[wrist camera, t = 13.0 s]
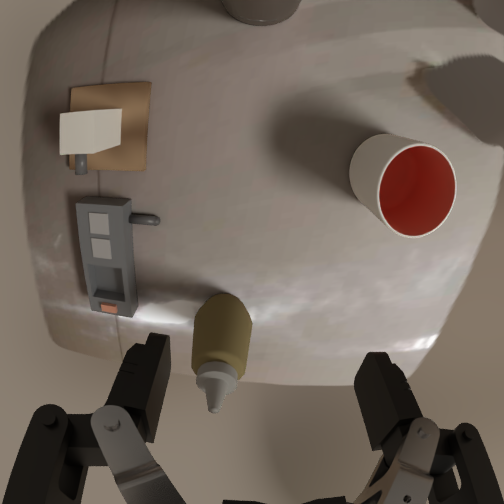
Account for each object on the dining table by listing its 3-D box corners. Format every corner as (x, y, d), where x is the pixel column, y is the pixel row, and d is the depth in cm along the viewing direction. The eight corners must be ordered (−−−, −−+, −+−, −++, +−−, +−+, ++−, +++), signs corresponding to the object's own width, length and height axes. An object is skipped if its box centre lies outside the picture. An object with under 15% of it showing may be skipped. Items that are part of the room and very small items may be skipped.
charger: (90, 110, 30) (60, 113, 24) (121, 108, 31) (94, 110, 24) (89, 163, 33) (60, 175, 27) (120, 163, 34) (94, 175, 27)
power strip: (86, 196, 36) (73, 204, 33) (161, 201, 37) (153, 210, 34) (98, 299, 44) (90, 312, 41) (163, 309, 44) (158, 324, 41)
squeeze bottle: (192, 321, 45) (170, 418, 29) (205, 279, 42) (182, 378, 26) (242, 335, 46) (239, 433, 30) (260, 295, 43) (264, 397, 27)
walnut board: (75, 88, 30) (71, 88, 29) (151, 82, 30) (149, 81, 29) (73, 167, 34) (69, 169, 34) (145, 169, 35) (143, 171, 34)
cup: (336, 143, 34) (366, 156, 25) (406, 125, 32) (450, 134, 23) (355, 217, 38) (384, 250, 29) (419, 196, 36) (459, 223, 28)
